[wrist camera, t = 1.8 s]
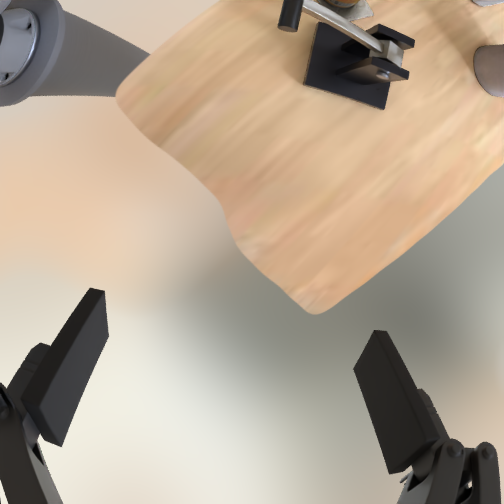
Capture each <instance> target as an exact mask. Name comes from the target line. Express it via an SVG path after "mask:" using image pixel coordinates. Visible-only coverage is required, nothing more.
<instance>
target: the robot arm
mask: <svg viewBox="0 0 504 504" xmlns="http://www.w3.org/2000/svg"><path fill="white" fill-rule="evenodd" d="M11 1H12V0H0V87H3V86H7V85H10V84H11V83H13V82H15V81H16V80H17V79H18V78H19V77H20V76H21V75H22V74H23V73H24V72H25V71H26V69H27V68H28V67H29V65H30V63H31V62H32V60H33V58H34V56H35V54H36V51H37V48H38V45H39V41H40V36H41V24H40V20H39V18H38V16H37V14H36V13H35V12H33V11H31V10H28V9H25V8H15V9H10V10H5V9H6V7H7V6H8V5H9V4H10V2H11ZM4 10H5V11H4ZM108 337H109V333H108V323H107V313H106V301H105V291H103V290H98V289H94V288H89V290H88V291H87V292H86V294H85V295H84V297H83V298H82V300H81V301H80V302H79V304H78V305H77V307H76V308H75V310H74V311H73V313H72V314H71V316H70V317H69V318H68V320H67V321H66V323H65V325H64V326H63V328H62V329H61V331H60V332H59V334H58V336H57V337H56V338H55V340H54V341H53V343H52V345H51V346H49V345H46V344H43V343H39V344H38V345H36V346H35V347H34V348H32V349H31V350H30V352H29V353H28V355H27V357H26V358H25V360H24V361H23V363H22V364H21V367H20V368H19V369H18V371H17V372H16V374H15V375H14V377H13V379H12V380H11V382H10V384H9V385H8V387H7V389H6V387H5V386H4V385H3V384H2V383H0V480H1V483H2V486H3V489H4V492H5V495H6V498H7V501H8V504H63V502H62V500H61V498H60V496H59V494H58V491H57V489H56V487H55V485H54V482H53V480H52V478H51V475H50V472H49V470H48V467H47V465H46V462H45V460H44V457H43V454H42V451H41V449H40V446H39V443H38V441H37V439H38V437H39V434H41V436H42V437H43V439H44V440H45V441H47V442H50V443H52V444H55V445H57V446H60V447H62V445H63V442H64V439H65V437H66V434H67V432H68V429H69V426H70V424H71V421H72V419H73V416H74V414H75V411H76V409H77V407H78V404H79V402H80V399H81V397H82V395H83V392H84V390H85V387H86V385H87V383H88V381H89V378H90V376H91V374H92V372H93V369H94V367H95V365H96V363H97V361H98V358H99V356H100V354H101V352H102V350H103V348H104V346H105V343H106V341H107V339H108ZM353 370H354V372H355V375H356V377H357V380H358V383H359V386H360V389H361V391H362V394H363V397H364V400H365V403H366V406H367V408H368V411H369V414H370V417H371V420H372V423H373V426H374V429H375V432H376V435H377V438H378V441H379V444H380V447H381V450H382V453H383V457H384V459H385V462H386V466H387V469H388V472H389V474H394V473H399V472H403V471H405V470H406V469H407V468H408V467H409V466H410V465H411V466H412V468H413V470H412V471H411V472H410V473H409V474H407V475H406V476H405V477H404V478H402V479H401V481H400V483H402V482H404V481H405V480H406V479H407V481H406V483H405V484H404V485H405V486H404V488H403V491H402V493H401V495H400V498H399V500H398V502H397V504H501V492H500V477H499V467H498V457H497V452H496V449H495V448H494V446H493V445H492V444H490V443H488V442H482V443H480V444H479V445H478V446H477V447H476V448H464V446H463V445H462V444H461V442H459V441H458V440H456V439H450V438H449V436H448V434H447V432H446V430H445V428H444V425H443V423H442V421H441V419H440V417H439V415H438V414H437V411H436V409H435V407H433V403H432V401H431V399H430V397H429V396H428V395H427V394H426V393H425V392H424V391H423V390H422V389H417V387H416V385H415V383H414V381H413V379H412V377H411V375H410V373H409V372H408V370H407V368H406V366H405V364H404V362H403V360H402V358H401V356H400V355H399V353H398V351H397V349H396V347H395V345H394V344H393V342H392V340H391V338H390V336H389V334H388V333H387V331H380V330H374V332H373V333H372V335H371V337H370V339H369V341H368V343H367V345H366V347H365V349H364V350H363V352H362V354H361V356H360V358H359V359H358V361H357V363H356V365H355V367H354V369H353ZM471 481H472V487H470V488H469V487H468V483H469V482H471ZM0 504H1V501H0Z"/></svg>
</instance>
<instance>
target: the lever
mask: <svg viewBox="0 0 504 504" xmlns="http://www.w3.org/2000/svg"><path fill="white" fill-rule="evenodd" d="M302 11H303V12H305V13H307V14H309V15H311V16H313V17H315V18H317V19H319V20H321V21H323V22H325V23H327V24H328V25H330V26H332V27H334V28H336V29H338V30H339V31H341V32H343V33H345V34H346V35H348V36H350V37H351V38H353V39H355V40H356V41H358V42H360V43H361V44H363V45H364V46H366V47H368V48H369V49H371V50H370V55H369V57H372V56H374V57H377V58H379V59H382V60H384V61H387V62H389V63H391V64H394V65H396V66H398V67H400V68H401V64H402V59H403V53H404V51H403V50H402V49H401V48H399V47H398V46H397V45H396V44H394V43H393V42H392V41H390V40H377V39H376V38H374V37H373V36H371V35H370V34H368V33H367V32H365V31H364V30H362V29H361V28H359V27H358V26H356V25H355V24H353V23H351V22H350V21H348V20H347V19H345V18H343V17H342V16H340V15H338V14H336V13H335V12H333V11H331V10H330V9H328V8H326V7H324V6H322V5H321V4H319V3H317V2H315V1H313V0H284V2H283V6H282V10H281V14H280V18H279V23H278V28H279V29H280V30H283V31H287V32H297V30H298V25H299V21H300V16H301V12H302Z"/></svg>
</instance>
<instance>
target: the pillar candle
mask: <svg viewBox="0 0 504 504" xmlns="http://www.w3.org/2000/svg"><path fill="white" fill-rule="evenodd" d="M474 68H475V73H476V76H477V78H478V81H479V83H480V84H481V86H482V87H483V88H484V89H485V90H486V91H487V92H488V93H489V94H491V95H493V96H497V97H504V44H503V45H489V46H482V47H480V48H478V49H477V51H476V53H475V56H474Z"/></svg>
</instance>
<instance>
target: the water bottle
mask: <svg viewBox="0 0 504 504" xmlns="http://www.w3.org/2000/svg"><path fill="white" fill-rule="evenodd" d="M472 1H473V2H475V3H476V4H478V5H480V6H490V5H494V4H499V3H504V0H472Z"/></svg>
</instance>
